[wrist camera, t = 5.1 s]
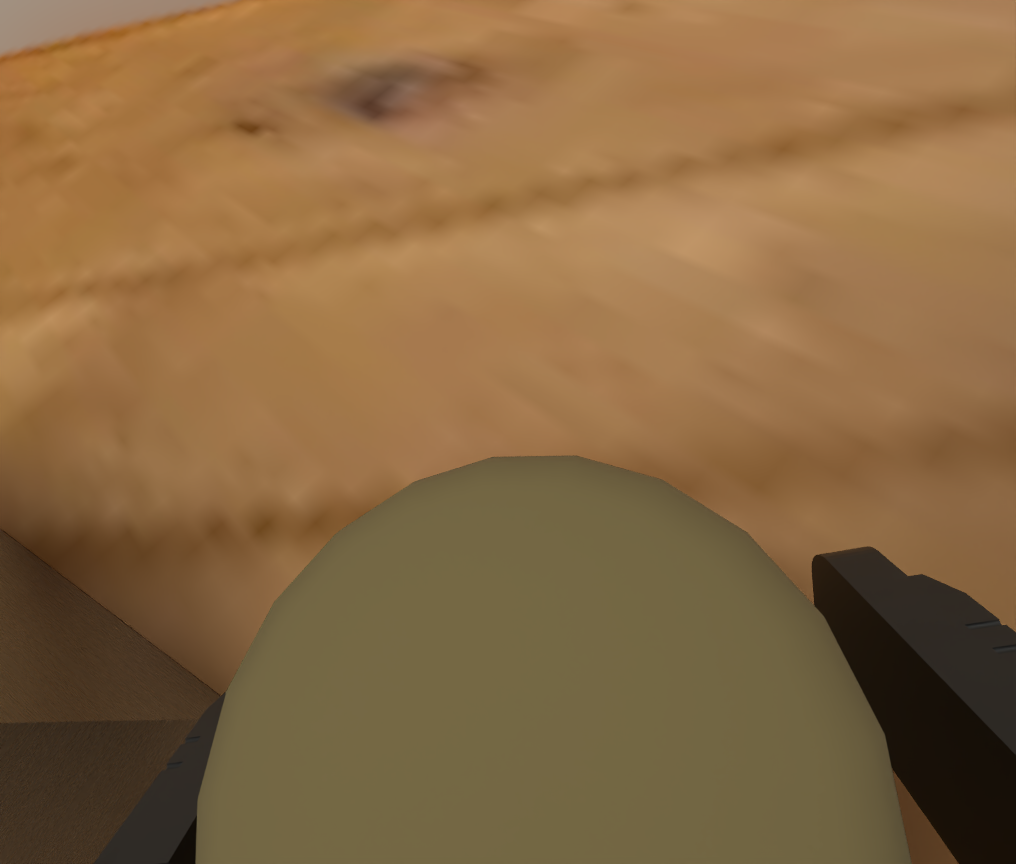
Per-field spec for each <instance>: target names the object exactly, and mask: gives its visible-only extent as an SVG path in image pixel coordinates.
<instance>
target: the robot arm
mask: <svg viewBox="0 0 1016 864" xmlns="http://www.w3.org/2000/svg"><path fill="white" fill-rule="evenodd" d="M812 580H813V593H814V606H815V607H816V608H817V609H818V611H819V612H820V613H821V614H822V615H823V616H824V617H825V619H826V621H827V623H828V625H829V627H830V629H831V631H832V633H833V635H834V637H835V639H836V641H837V643H838V645H839V647H840V648H841V650H842V652H843V654H844V656H845V658H846V660H847V662H848V664H849V666H850V668H851V670H852V672H853V674H854V676H855V678H856V680H857V682H858V683H859V685H860V687H861V689H862V691H863V693H864V695H865V697H866V699H867V701H868V703H869V705H870V707H871V709H872V711H873V713H874V715H875V716H876V718H877V720H878V722H879V724H880V726H881V728H882V730H883V732H884V734H885V738H886V743H887V748H888V752H889V757H890V762H891V767H892V769H893V770H894V772H895V773H896V774H897V776H898V777H899V779H900V780H901V782H902V783H903V784H904V786H905V787H906V789H907V790H908V792H909V793H910V794H911V796H912V797H913V799H914V800H915V802H916V803H917V804H918V806H919V807H920V809H921V810H922V812H923V813H924V814H925V816H926V817H927V819H928V820H929V822H930V823H931V824H932V826H933V827H934V829H935V830H936V832H937V833H938V834H939V836H940V837H941V839H942V840H943V842H944V843H945V844H946V846H947V847H948V849H949V850H950V852H951V853H952V854H953V856H954V857H955V859H956V860H957V862H958V863H959V864H1016V632H1015V631H1013V630H1012V629H1011V628H1010V627H1008V626H1007V625H1001V623H1000V621H999V619H998V618H997V617H995V616H994V615H993V614H992V613H990V612H989V611H988V610H986V609H985V608H984V607H983V606H981V605H980V604H979V603H977V602H976V601H975V600H974V599H972V598H971V597H970V596H968V595H967V594H966V593H964V592H962V591H959V590H957V589H955V588H952V587H950V586H948V585H946V584H943V583H941V582H939V581H937V580H934V579H932V578H930V577H927V576H925V575H923V574H921V575H914V576H907V575H906V574H904V573H903V572H902V571H901V570H900V569H899V568H897V567H896V566H895V565H894V564H893V563H892V562H890V561H889V560H888V559H887V558H886V557H885V556H883V555H882V554H881V553H880V552H879V551H877V550H876V549H875V548H872V547H862V548H856V549H850V550H844V551H838V552H832V553H826V554H820V555H816V556H815V557H814V558H813V561H812ZM225 695H226V692H225V693H224V694H223V695H222V696H221V697H219V698H218V699H217V700H216V701H215V702H214V703H213V704H212V705H210V706H209V707H208V708H207V709H206V711H205V712H204V713H203V715H202V716H201V717H200V719H199V720H198V722H197V723H196V724H195V726H194V727H193V728H192V730H191V731H190V732H189V734H188V735H187V737H186V738H185V740H186V741H185V744H181V745H180V746H179V747H178V749H177V750H176V752H175V753H174V754H173V756H172V757H171V758H170V760H169V761H168V763H167V768H166V770H162V771H161V772H160V773H159V775H158V776H157V778H156V779H155V780H154V782H153V783H152V784H151V786H150V787H149V788H148V790H147V791H146V793H145V794H144V795H143V797H142V798H141V799H140V801H139V802H138V804H137V805H136V806H135V808H134V809H133V810H132V812H131V813H130V814H129V816H128V817H127V819H126V820H125V821H124V823H123V824H122V825H121V827H120V828H119V829H118V831H117V832H116V834H115V835H114V836H113V838H112V839H111V840H110V842H109V843H108V845H107V846H106V847H105V849H104V850H103V851H102V853H101V854H100V855H99V857H98V858H97V860H96V861H95V862H94V864H196V833H197V801H198V796H199V792H200V788H201V785H202V781H203V777H204V773H205V770H206V766H207V762H208V758H209V755H210V751H211V747H212V744H213V740H214V736H215V732H216V729H217V725H218V721H219V717H220V714H221V710H222V706H223V703H224V699H225Z"/></svg>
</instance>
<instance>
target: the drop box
mask: <svg viewBox="0 0 1016 864" xmlns="http://www.w3.org/2000/svg"><path fill="white" fill-rule="evenodd" d="M219 697H221V696H220V695H218V694H217V693H216V692H214V691H213V690H212V689H210V688H209V687H208V686H206V685H205V684H204V683H202V682H201V681H200V680H199V679H197V678H196V677H195V676H193V675H192V674H191V673H189V672H188V671H187V670H185V669H184V668H183V667H181V666H180V665H179V664H177V663H176V662H175V661H174V660H172V659H171V658H170V657H168V656H167V655H166V654H164V653H163V652H162V651H160V650H159V649H158V648H156V647H155V646H154V645H152V644H151V643H150V642H148V641H147V640H146V639H145V638H143V637H142V636H141V635H139V634H138V633H137V632H135V631H134V630H133V629H131V628H130V627H129V626H127V625H126V624H125V623H123V622H122V621H121V620H120V619H118V618H117V617H116V616H114V615H113V614H112V613H110V612H109V611H108V610H106V609H105V608H104V607H102V606H101V605H100V604H98V603H97V602H96V601H94V600H93V599H92V598H91V597H89V596H88V595H87V594H85V593H84V592H83V591H81V590H80V589H79V588H77V587H76V586H75V585H73V584H72V583H71V582H69V581H68V580H67V579H66V578H64V577H63V576H62V575H60V574H59V573H58V572H56V571H55V570H54V569H52V568H51V567H50V566H48V565H47V564H46V563H44V562H43V561H42V560H40V559H39V558H38V557H37V556H35V555H34V554H33V553H31V552H30V551H29V550H27V549H26V548H25V547H23V546H22V545H21V544H19V543H18V542H17V541H15V540H14V539H13V538H12V537H10V536H9V535H8V534H6V533H5V532H4V531H2V530H1V529H0V864H94V862H95V861H96V860H97V858H98V857H99V855H100V854H101V853H102V851H103V850H104V849H105V847H106V846H107V845H108V843H109V842H110V840H111V839H112V838H113V836H114V835H115V834H116V832H117V831H118V829H119V828H120V827H121V825H122V824H123V823H124V821H125V820H126V819H127V817H128V816H129V814H130V813H131V812H132V810H133V809H134V808H135V806H136V805H137V804H138V802H139V801H140V799H141V798H142V797H143V795H144V794H145V793H146V791H147V790H148V788H149V787H150V786H151V784H152V783H153V782H154V780H155V779H156V778H157V776H158V775H159V773H160V772H161V771H162V770H166V768H167V763H168V761H169V760H170V758H171V757H172V756H173V754H174V753H175V752H176V750H177V749H178V747H179V746H180V745H181V744H185V741H186V740H185V738H186V737H187V735H188V734H189V732H190V731H191V730H192V728H193V727H194V726H195V724H196V723H197V722H198V720H199V719H200V717H201V716H202V715H203V713H204V712H205V711H206V709H207V708H208V707H209V706H210V705H212V704H213V703H214V702H215V701H216V700H217V699H218V698H219Z"/></svg>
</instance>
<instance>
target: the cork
mask: <svg viewBox="0 0 1016 864" xmlns="http://www.w3.org/2000/svg"><path fill="white" fill-rule="evenodd" d="M196 864H912V863H911V858H910V853H909V848H908V844H907V839H906V834H905V829H904V824H903V820H902V815H901V810H900V805H899V800H898V796H897V791H896V786H895V781H894V776H893V772H892V767H891V762H890V757H889V752H888V748H887V743H886V738H885V734H884V732H883V730H882V728H881V726H880V724H879V722H878V720H877V718H876V716H875V715H874V713H873V711H872V709H871V707H870V705H869V703H868V701H867V699H866V697H865V695H864V693H863V691H862V689H861V687H860V685H859V683H858V682H857V680H856V678H855V676H854V674H853V672H852V670H851V668H850V666H849V664H848V662H847V660H846V658H845V656H844V654H843V652H842V650H841V648H840V647H839V645H838V643H837V641H836V639H835V637H834V635H833V633H832V631H831V629H830V627H829V625H828V623H827V621H826V619H825V617H824V616H823V615H822V614H821V613H820V612H819V611H818V609H817V608H816V607H815V606H814V605H813V604H812V603H811V602H810V601H809V600H808V599H807V597H806V596H805V595H804V594H803V593H802V592H801V591H800V590H799V589H798V588H797V587H796V585H795V584H794V583H793V582H792V581H791V580H790V579H789V578H788V577H787V576H786V575H785V573H784V572H783V571H782V570H781V569H780V568H779V567H778V566H777V565H776V564H775V563H774V561H773V560H772V559H771V558H770V557H769V556H768V555H767V554H766V553H765V552H764V551H763V549H762V548H761V547H760V546H759V545H758V544H757V543H756V542H755V541H754V540H753V539H752V537H751V536H750V535H749V534H748V533H747V532H746V531H744V530H742V529H741V528H739V527H738V526H736V525H734V524H733V523H731V522H729V521H728V520H726V519H725V518H723V517H721V516H720V515H718V514H717V513H715V512H713V511H712V510H710V509H709V508H707V507H705V506H704V505H702V504H700V503H699V502H697V501H696V500H694V499H692V498H691V497H689V496H688V495H686V494H684V493H683V492H681V491H680V490H678V489H676V488H675V487H673V486H672V485H670V484H668V483H667V482H665V481H663V480H662V479H658V478H654V477H651V476H647V475H644V474H640V473H637V472H633V471H629V470H626V469H622V468H619V467H615V466H612V465H608V464H604V463H601V462H597V461H594V460H590V459H587V458H583V457H579V456H525V457H491V458H488V459H485V460H482V461H479V462H475V463H472V464H469V465H466V466H463V467H460V468H456V469H453V470H450V471H447V472H444V473H440V474H437V475H434V476H431V477H428V478H424V479H421V480H418V481H415V482H413V483H412V484H410V485H409V486H407V487H406V488H404V489H403V490H401V491H399V492H398V493H396V494H395V495H393V496H392V497H390V498H389V499H387V500H386V501H384V502H383V503H381V504H380V505H378V506H377V507H375V508H374V509H372V510H370V511H369V512H367V513H366V514H364V515H363V516H361V517H360V518H358V519H357V520H355V521H354V522H352V523H351V524H349V525H348V526H346V527H344V528H343V529H342V530H340V531H339V532H338V533H337V534H335V535H334V536H333V537H332V539H331V540H330V541H329V542H328V543H327V544H326V545H325V546H324V547H323V549H322V550H321V551H320V552H319V553H318V554H317V555H316V556H315V557H314V558H313V560H312V561H311V562H310V563H309V564H308V565H307V566H306V567H305V568H304V570H303V571H302V572H301V573H300V574H299V575H298V576H297V577H296V578H295V580H294V581H293V582H292V583H291V584H290V585H289V586H288V587H287V588H286V590H285V591H284V592H283V593H282V594H281V595H280V596H279V597H278V598H277V600H276V601H275V602H274V603H273V605H272V607H271V609H270V611H269V613H268V615H267V616H266V618H265V620H264V622H263V624H262V626H261V628H260V629H259V631H258V633H257V635H256V637H255V639H254V641H253V643H252V644H251V646H250V648H249V650H248V652H247V654H246V656H245V657H244V659H243V661H242V663H241V665H240V667H239V669H238V670H237V672H236V674H235V676H234V678H233V680H232V682H231V684H230V685H229V687H228V689H227V691H226V695H225V699H224V703H223V706H222V710H221V714H220V717H219V721H218V725H217V729H216V732H215V736H214V740H213V744H212V747H211V751H210V755H209V758H208V762H207V766H206V770H205V773H204V777H203V781H202V785H201V788H200V792H199V796H198V801H197V833H196Z"/></svg>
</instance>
